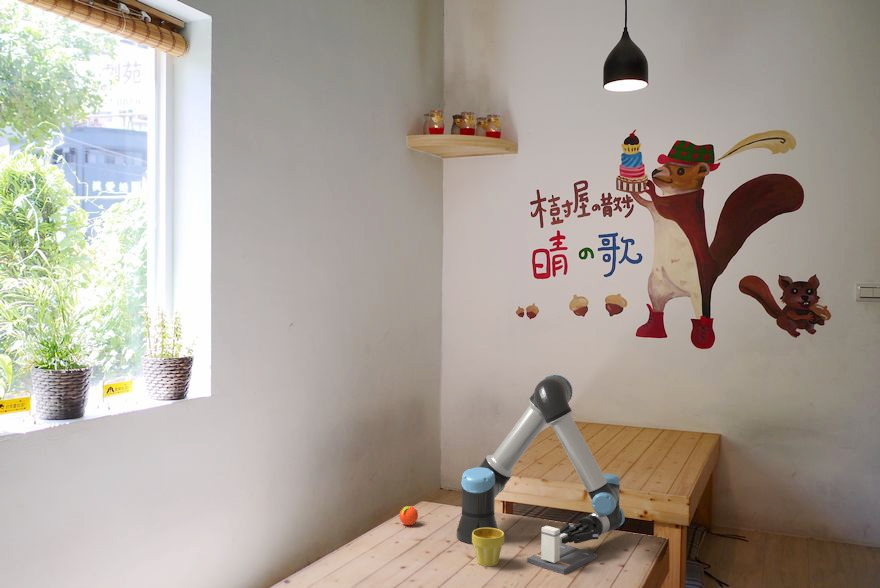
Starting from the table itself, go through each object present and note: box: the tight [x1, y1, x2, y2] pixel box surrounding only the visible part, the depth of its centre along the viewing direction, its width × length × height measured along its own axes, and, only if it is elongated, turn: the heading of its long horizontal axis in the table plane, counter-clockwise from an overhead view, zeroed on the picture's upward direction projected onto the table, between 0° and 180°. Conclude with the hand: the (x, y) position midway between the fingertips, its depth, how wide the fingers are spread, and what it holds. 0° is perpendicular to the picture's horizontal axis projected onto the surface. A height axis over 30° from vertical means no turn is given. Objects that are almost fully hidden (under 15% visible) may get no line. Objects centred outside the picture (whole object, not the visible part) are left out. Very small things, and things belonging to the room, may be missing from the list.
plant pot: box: [472, 528, 505, 567], centre depth 240 cm, size 10×10×10 cm
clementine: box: [399, 505, 419, 526], centre depth 276 cm, size 8×7×7 cm
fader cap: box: [540, 525, 561, 563], centre depth 237 cm, size 5×3×10 cm, turn 47°
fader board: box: [526, 543, 598, 575], centre depth 242 cm, size 14×19×2 cm
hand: (554, 542), depth 238 cm, fingers closed
